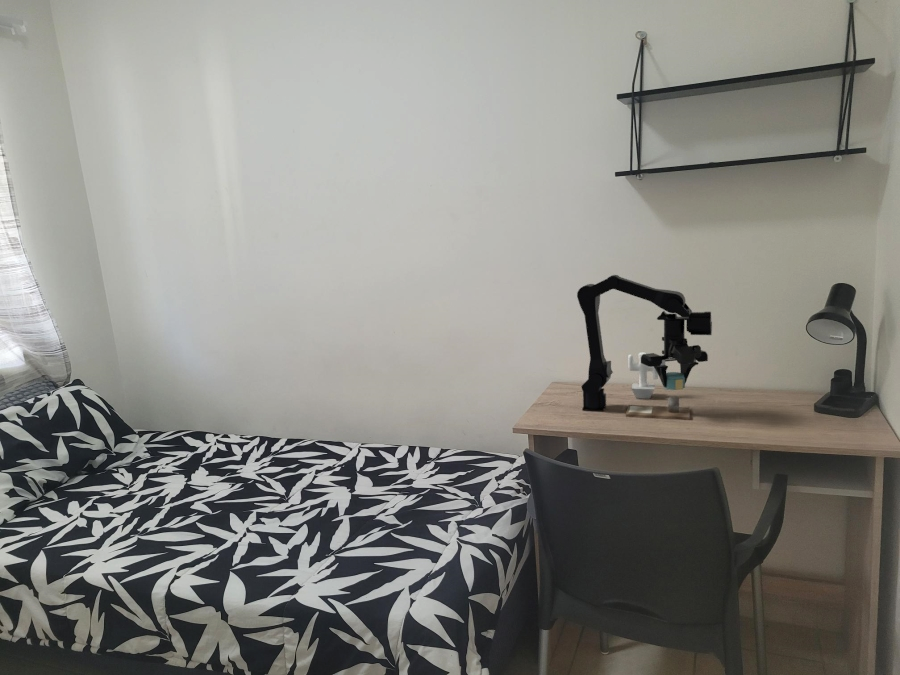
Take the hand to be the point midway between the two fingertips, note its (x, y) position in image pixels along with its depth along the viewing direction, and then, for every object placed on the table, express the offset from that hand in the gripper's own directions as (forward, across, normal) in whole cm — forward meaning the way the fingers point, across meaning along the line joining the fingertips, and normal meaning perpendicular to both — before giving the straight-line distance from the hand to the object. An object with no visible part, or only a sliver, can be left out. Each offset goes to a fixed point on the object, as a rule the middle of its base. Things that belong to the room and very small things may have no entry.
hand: (674, 385), depth 185 cm
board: (+9, -4, +2) cm, 10 cm away
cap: (0, 0, 0) cm, 0 cm away
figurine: (+9, 0, +21) cm, 23 cm away
